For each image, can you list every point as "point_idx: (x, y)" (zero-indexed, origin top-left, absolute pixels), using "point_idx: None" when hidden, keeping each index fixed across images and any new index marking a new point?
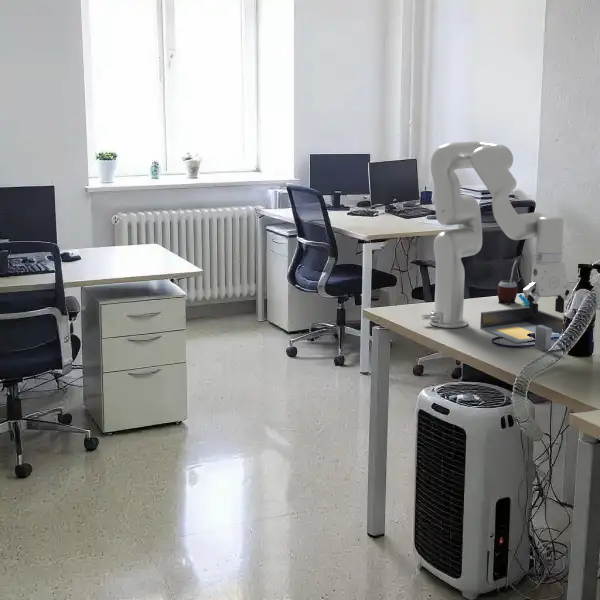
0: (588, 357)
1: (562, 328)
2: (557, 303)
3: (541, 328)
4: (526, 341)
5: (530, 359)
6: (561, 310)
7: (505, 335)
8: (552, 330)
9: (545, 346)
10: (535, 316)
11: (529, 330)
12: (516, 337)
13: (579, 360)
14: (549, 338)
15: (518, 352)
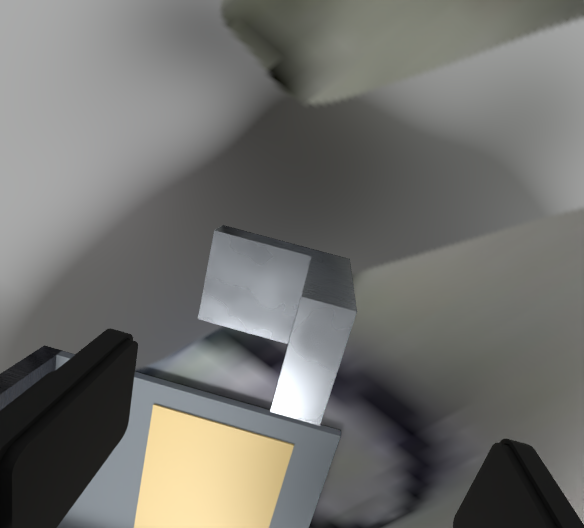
0: (241, 16)
1: (27, 381)
2: (63, 487)
3: (337, 364)
4: (280, 416)
5: (550, 223)
6: (123, 356)
7: (287, 522)
8: None
9: (350, 268)
10: (523, 448)
11: (130, 494)
12: (277, 475)
13: (342, 8)
14: (322, 276)
15: (471, 344)
